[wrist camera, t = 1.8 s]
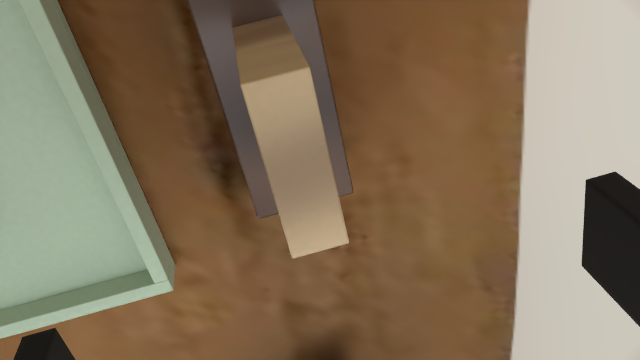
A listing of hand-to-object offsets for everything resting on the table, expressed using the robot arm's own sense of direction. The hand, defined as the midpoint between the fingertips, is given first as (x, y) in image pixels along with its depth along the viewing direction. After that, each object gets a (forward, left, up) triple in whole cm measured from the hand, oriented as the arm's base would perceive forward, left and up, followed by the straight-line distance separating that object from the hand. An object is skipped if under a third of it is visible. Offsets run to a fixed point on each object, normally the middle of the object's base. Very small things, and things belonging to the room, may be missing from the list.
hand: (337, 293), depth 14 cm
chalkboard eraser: (0, 0, -17) cm, 17 cm away
